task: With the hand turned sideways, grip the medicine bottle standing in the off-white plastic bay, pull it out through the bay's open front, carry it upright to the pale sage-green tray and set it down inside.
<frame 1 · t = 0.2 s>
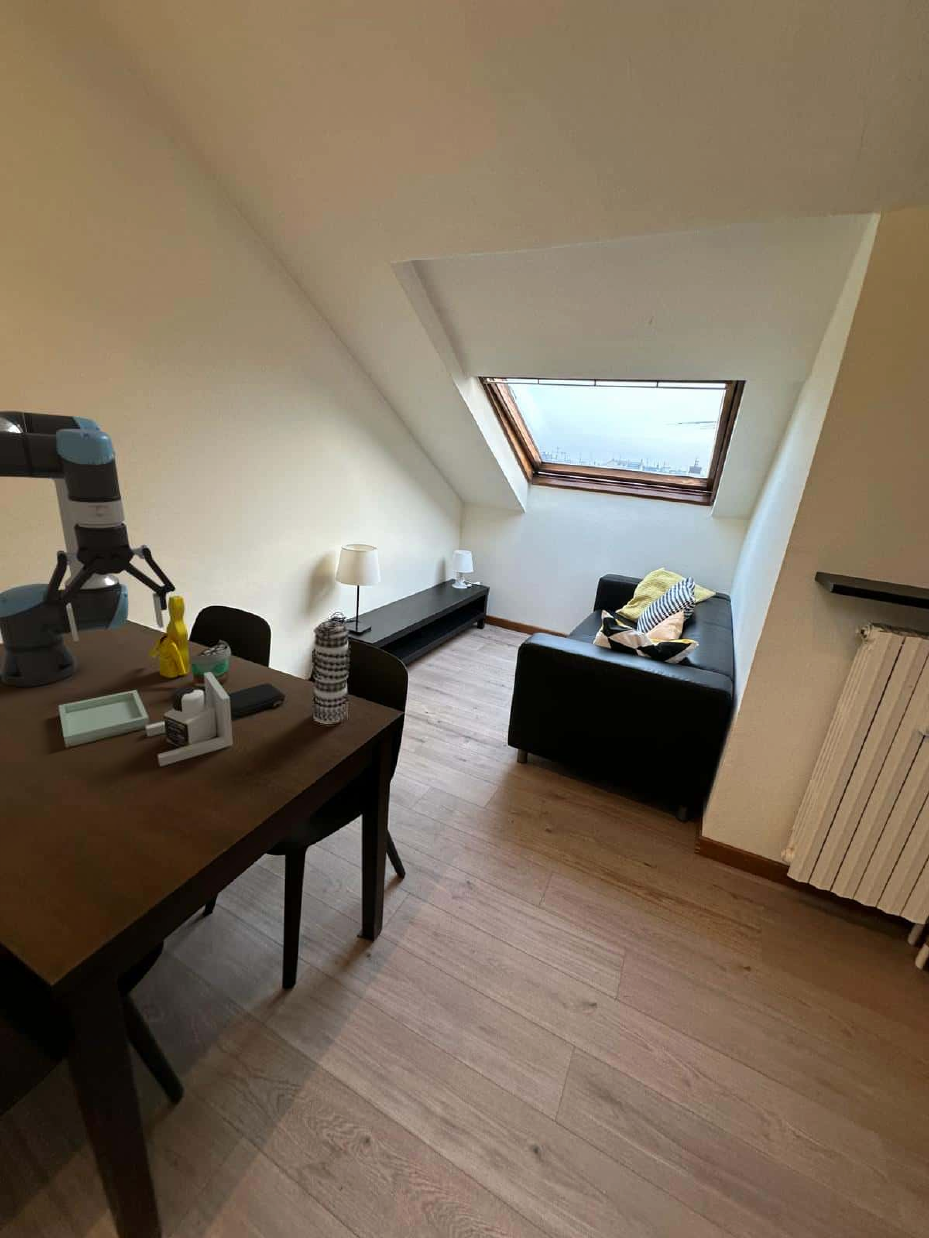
hand: (120, 631, 94), 27 cm above the table, tool pointing down, fingers open, 13 cm apart
decorative candle: (330, 716, 123), on the table
bay: (192, 738, 109), on the table
food container: (217, 683, 133), on the table
tray: (104, 720, 112), on the table
carrying case or bag: (253, 706, 125), on the table
figure statuette: (175, 673, 136), on the table
medicine bottle: (192, 739, 109), resting in bay
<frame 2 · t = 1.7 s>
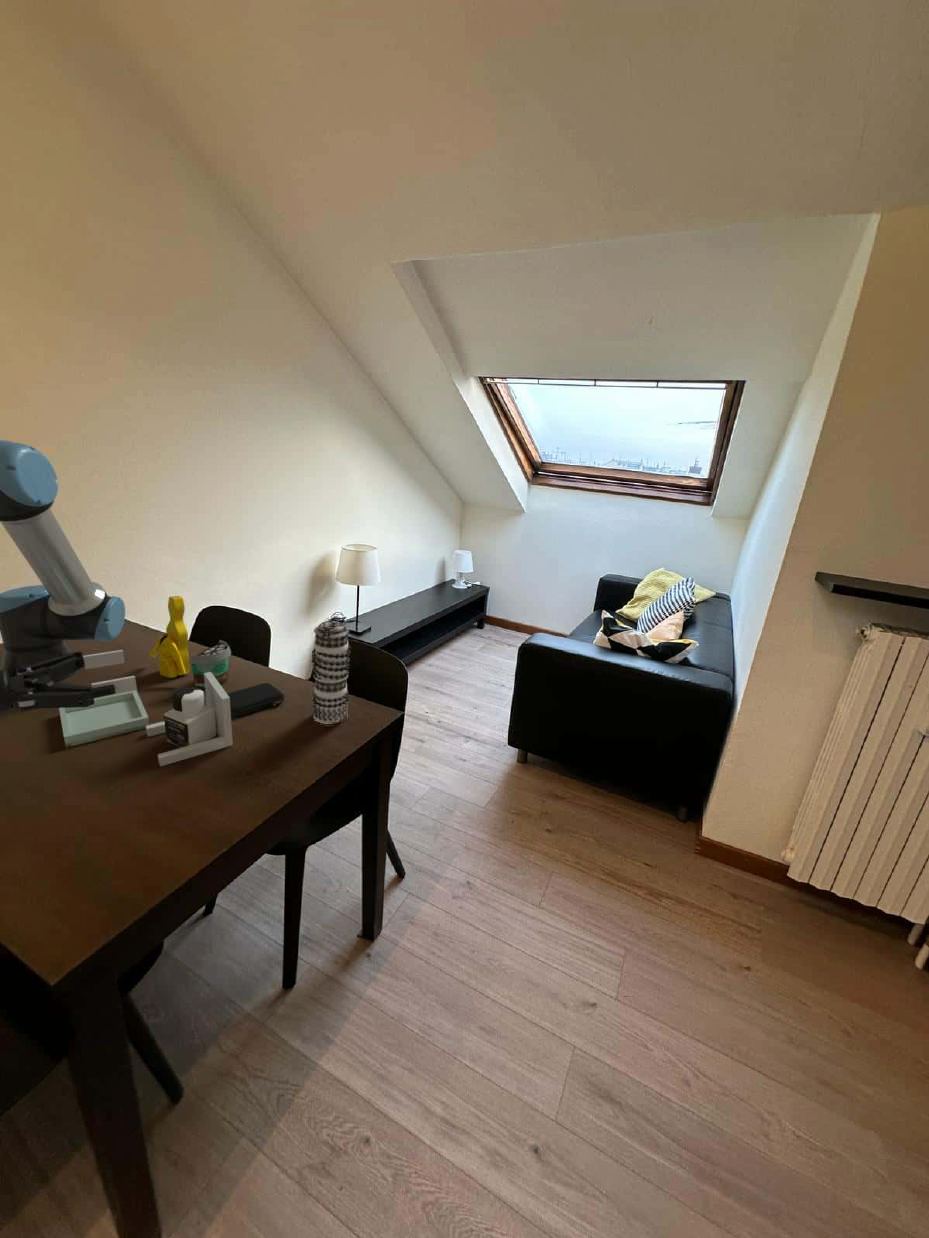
hand: (129, 668, 96), 20 cm above the table, tool horizontal, fingers open, 13 cm apart
nothing on the table moved.
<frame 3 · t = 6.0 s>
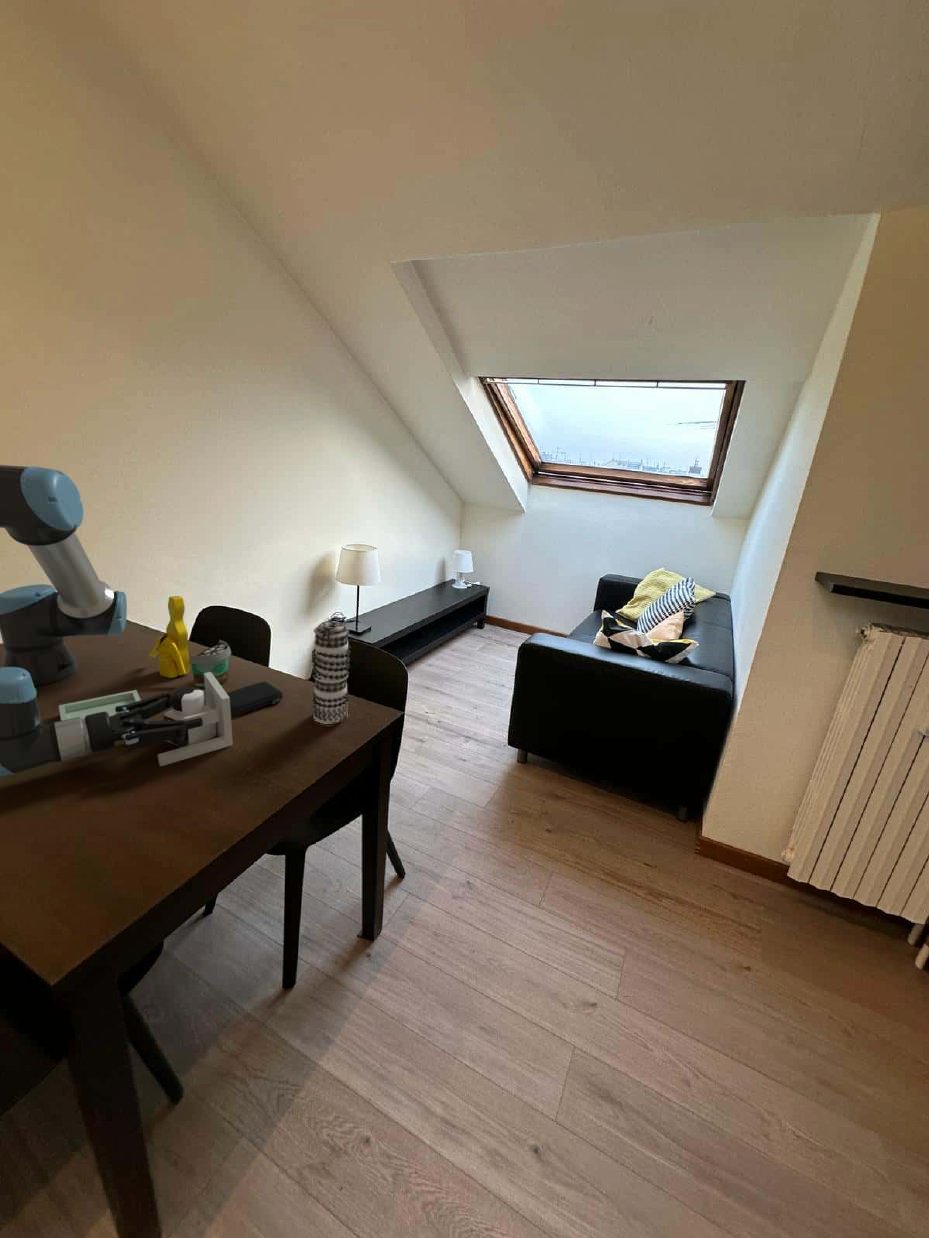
hand: (211, 705, 109), 7 cm above the table, tool horizontal, fingers closed on medicine bottle, 9 cm apart
medicine bottle: (192, 739, 109), resting in bay, touching gripper
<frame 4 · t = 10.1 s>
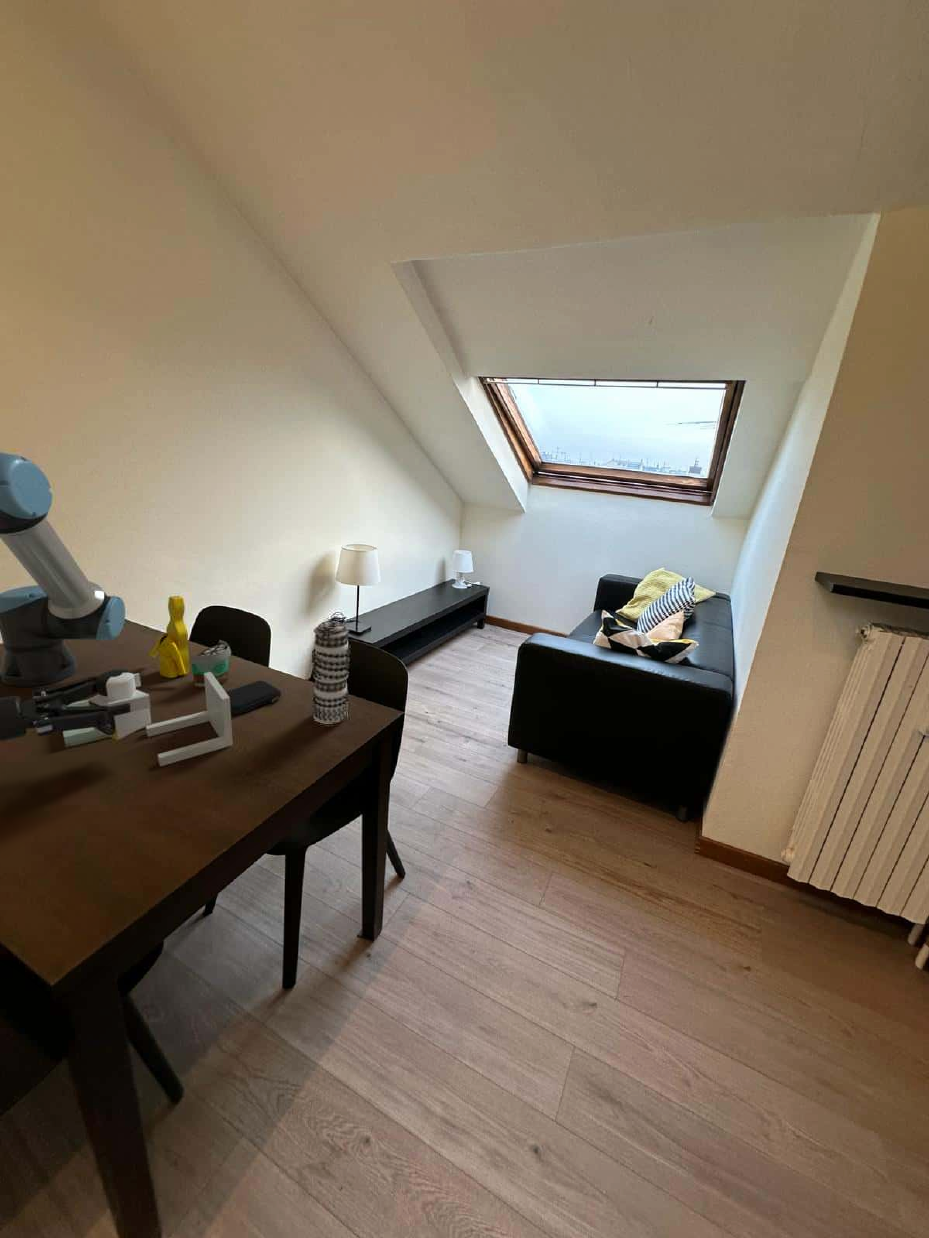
hand: (144, 689, 99), 14 cm above the table, tool horizontal, fingers closed on medicine bottle, 9 cm apart
medicine bottle: (123, 727, 99), point 7 cm above the table, touching gripper
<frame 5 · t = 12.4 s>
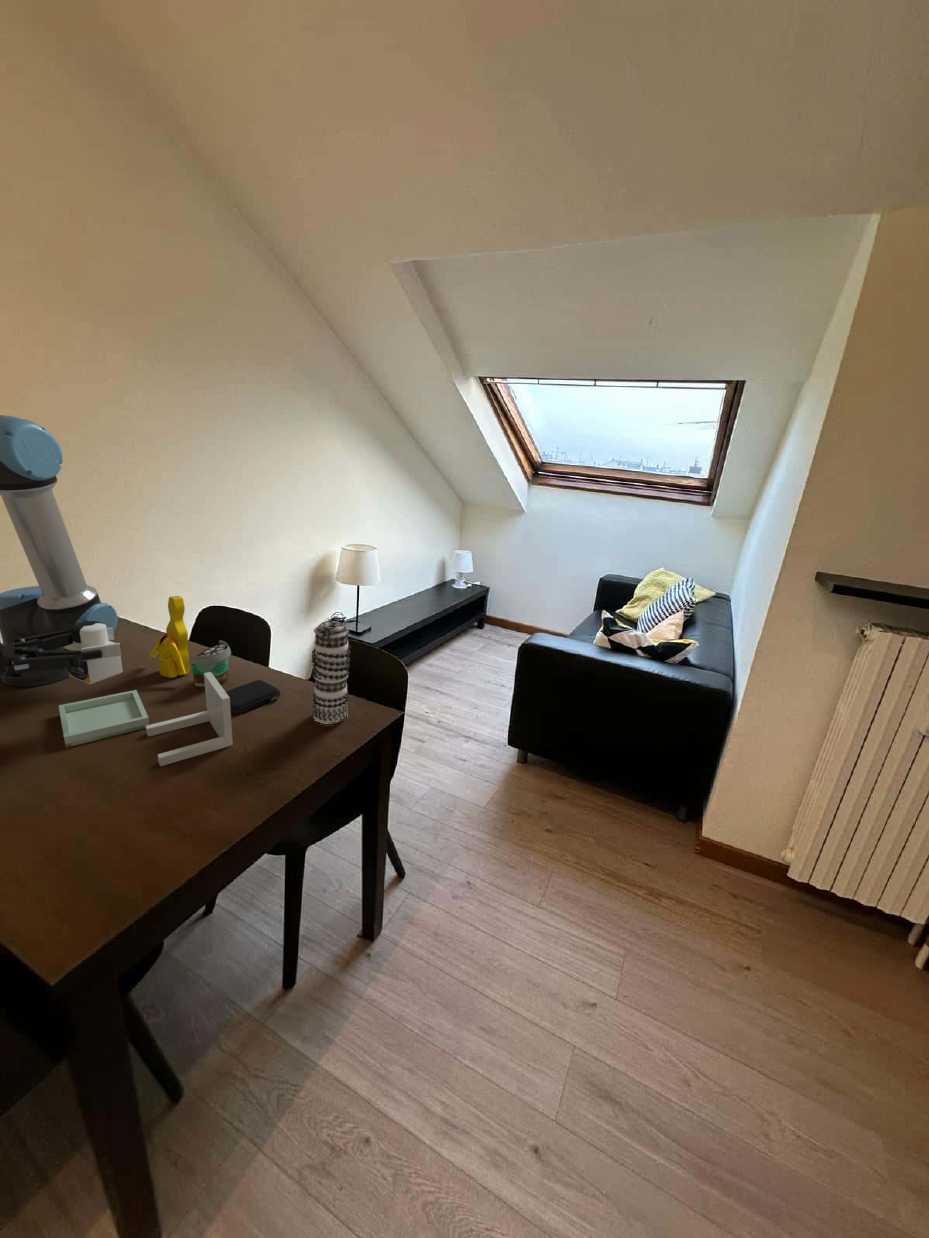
hand: (116, 641, 108), 19 cm above the table, tool horizontal, fingers closed on medicine bottle, 9 cm apart
medicine bottle: (96, 675, 107), point 12 cm above the table, touching gripper
when the fingers open (9 cm above the table, at t = 14.5 s): medicine bottle drops 1 cm, resting on tray.
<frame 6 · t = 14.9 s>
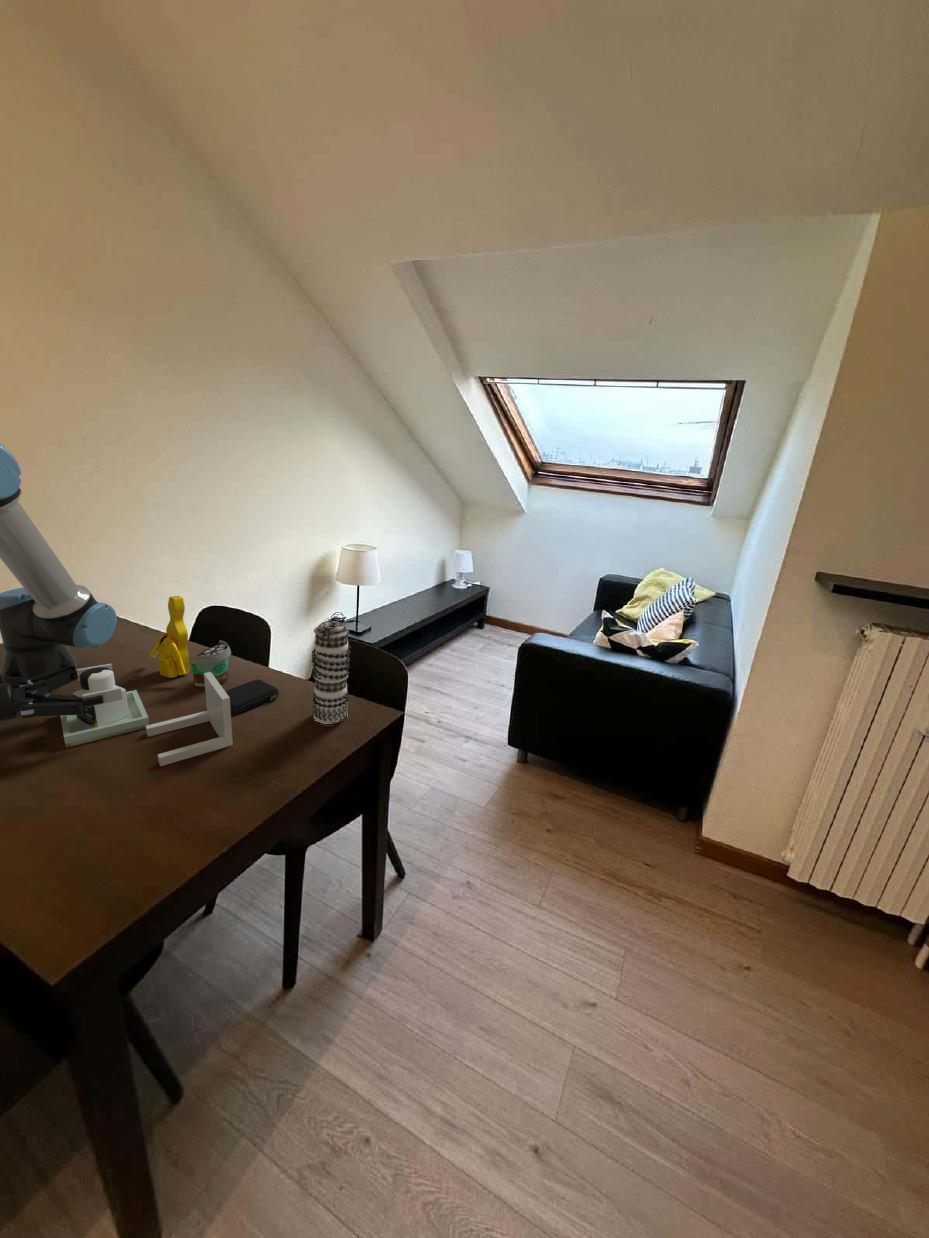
hand: (116, 680, 110), 10 cm above the table, tool horizontal, fingers open, 13 cm apart
medicine bottle: (103, 718, 111), point 1 cm above the table, touching tray
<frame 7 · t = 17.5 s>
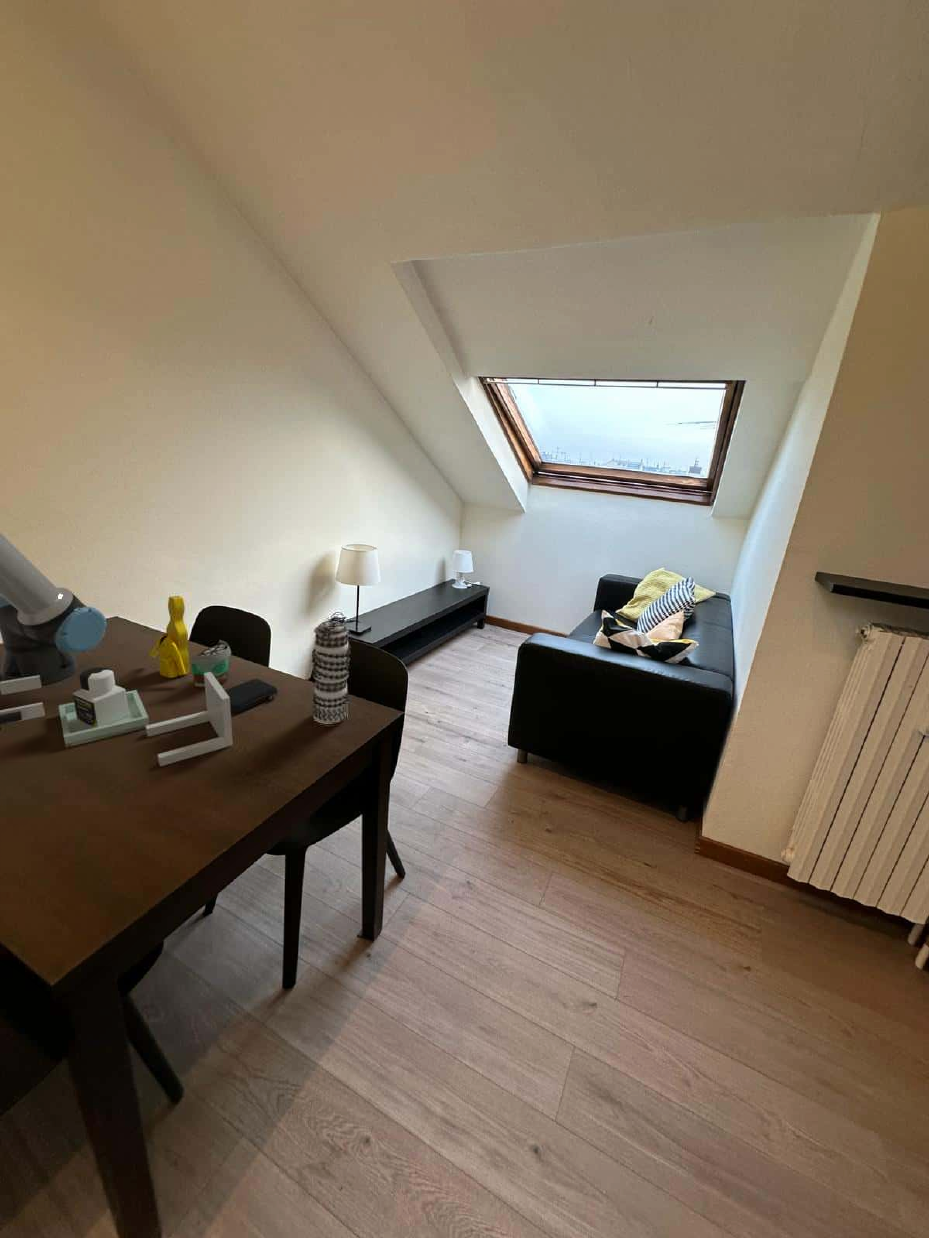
hand: (42, 694, 102), 10 cm above the table, tool horizontal, fingers open, 13 cm apart
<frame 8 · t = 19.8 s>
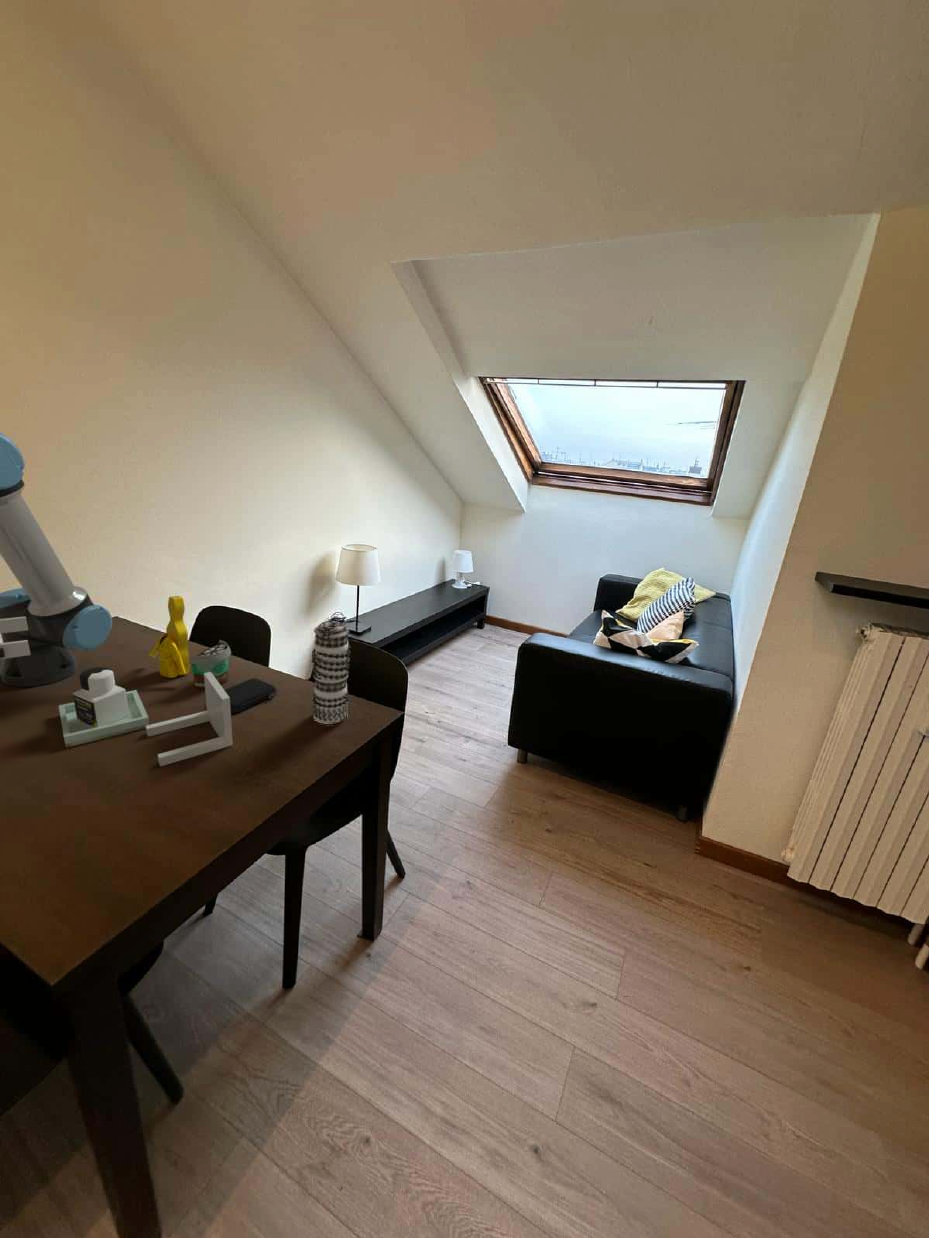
hand: (28, 634, 94), 25 cm above the table, tool horizontal, fingers open, 13 cm apart
at the end: medicine bottle inside the target area on the tray (0.1 cm from its centre), point 0.6 cm above the tray's base; medicine bottle tilted 0°; the gripper is holding nothing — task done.
